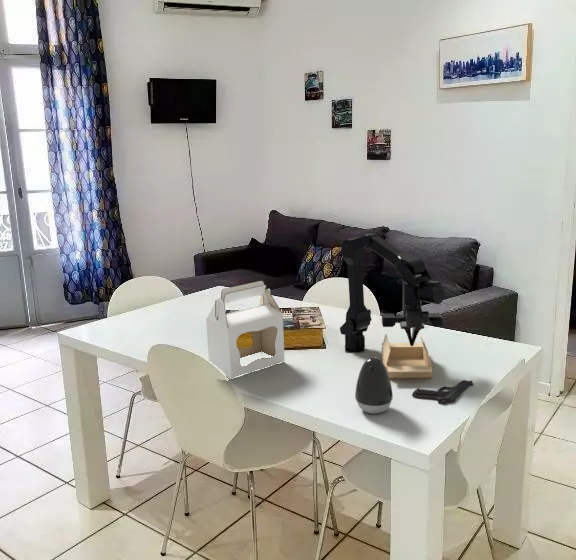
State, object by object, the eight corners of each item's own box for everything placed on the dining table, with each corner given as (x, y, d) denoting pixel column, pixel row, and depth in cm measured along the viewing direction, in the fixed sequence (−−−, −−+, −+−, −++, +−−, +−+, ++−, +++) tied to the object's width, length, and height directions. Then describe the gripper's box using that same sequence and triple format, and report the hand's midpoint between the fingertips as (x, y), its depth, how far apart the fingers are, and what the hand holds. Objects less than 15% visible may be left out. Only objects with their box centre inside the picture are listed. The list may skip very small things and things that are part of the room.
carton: (386, 383, 187) (386, 371, 186) (380, 353, 212) (380, 342, 211) (433, 383, 186) (433, 371, 185) (422, 353, 211) (422, 342, 210)
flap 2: (430, 364, 189) (426, 350, 188) (422, 345, 205) (419, 333, 205) (431, 363, 189) (427, 350, 188) (423, 345, 205) (420, 333, 205)
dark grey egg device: (350, 415, 167) (350, 363, 164) (360, 400, 176) (359, 350, 173) (388, 420, 163) (388, 366, 160) (395, 404, 173) (396, 353, 169)
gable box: (230, 380, 194) (225, 294, 188) (208, 369, 205) (202, 287, 198) (285, 362, 208) (282, 282, 201) (262, 352, 218) (258, 275, 211)
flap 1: (386, 364, 190) (389, 350, 189) (382, 346, 207) (385, 333, 205) (386, 364, 190) (390, 351, 189) (382, 346, 207) (386, 333, 205)
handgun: (436, 372, 191) (474, 380, 184) (436, 378, 192) (474, 386, 185) (410, 392, 177) (450, 401, 170) (410, 398, 177) (450, 408, 170)
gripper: (383, 306, 186) (384, 354, 190) (446, 305, 185) (445, 354, 188) (381, 296, 197) (381, 342, 201) (440, 295, 196) (439, 342, 199)
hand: (411, 345), depth 197 cm, fingers closed
